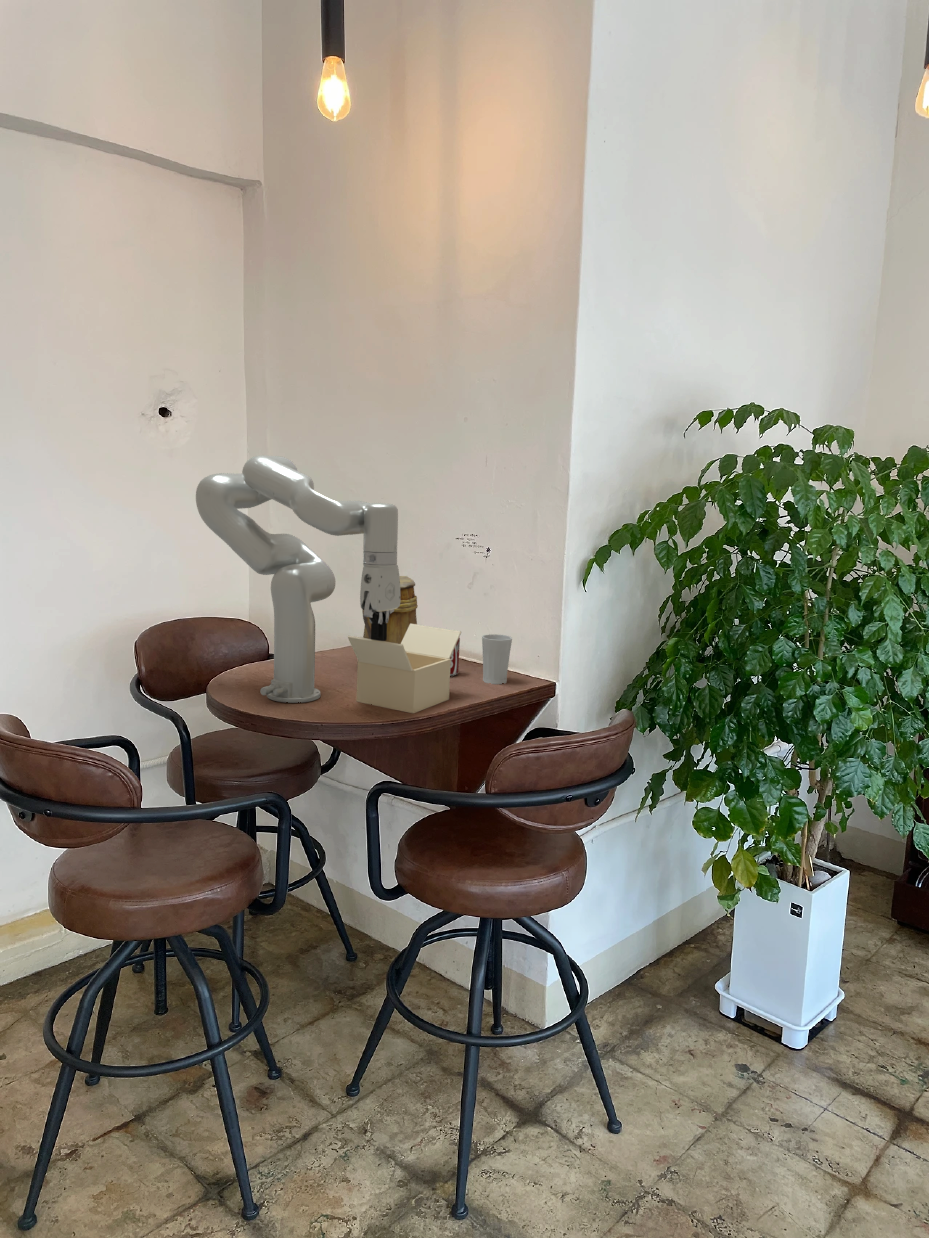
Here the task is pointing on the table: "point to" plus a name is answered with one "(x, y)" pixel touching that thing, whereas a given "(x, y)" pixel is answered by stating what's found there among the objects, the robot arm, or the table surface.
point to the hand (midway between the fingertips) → (378, 640)
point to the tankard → (398, 614)
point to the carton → (405, 683)
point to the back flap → (430, 640)
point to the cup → (495, 658)
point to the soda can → (455, 659)
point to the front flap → (380, 653)
